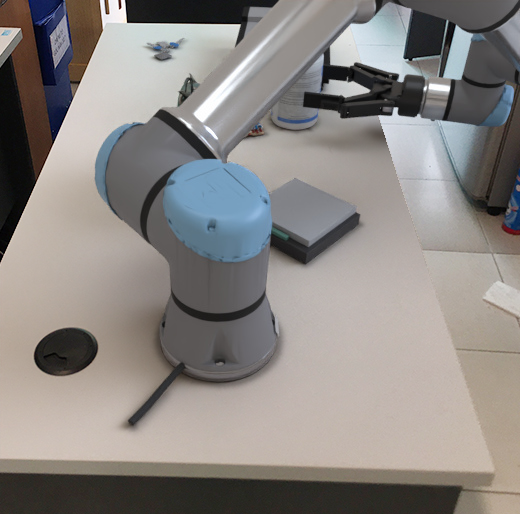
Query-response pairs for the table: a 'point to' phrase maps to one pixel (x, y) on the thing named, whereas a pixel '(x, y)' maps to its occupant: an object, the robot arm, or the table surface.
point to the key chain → (164, 45)
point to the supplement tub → (299, 100)
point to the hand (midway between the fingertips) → (309, 84)
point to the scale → (308, 219)
